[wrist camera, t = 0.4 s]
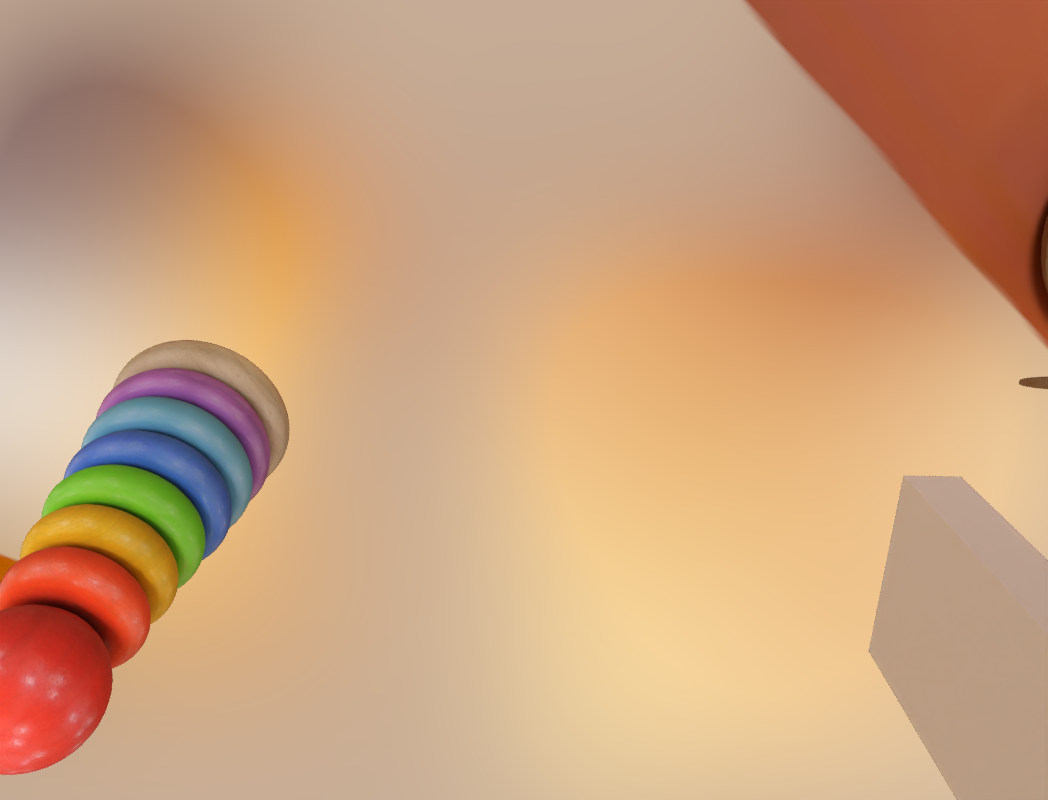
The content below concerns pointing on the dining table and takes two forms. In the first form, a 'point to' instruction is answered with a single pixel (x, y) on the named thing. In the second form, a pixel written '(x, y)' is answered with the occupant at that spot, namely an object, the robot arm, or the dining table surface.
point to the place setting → (1044, 382)
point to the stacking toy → (127, 535)
